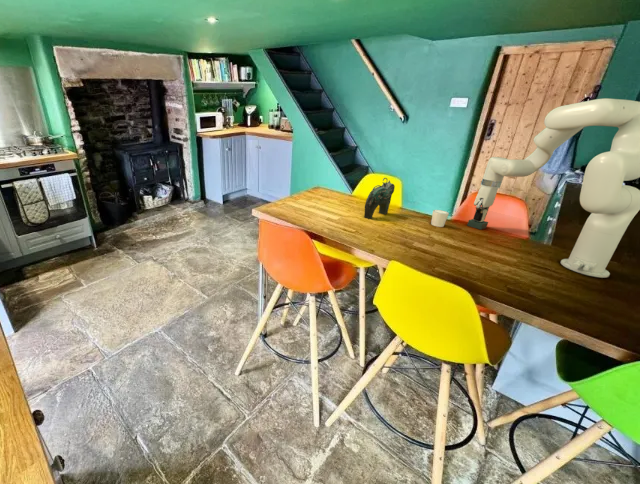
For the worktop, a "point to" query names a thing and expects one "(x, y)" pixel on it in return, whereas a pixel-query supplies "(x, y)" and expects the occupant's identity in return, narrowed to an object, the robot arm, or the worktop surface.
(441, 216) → the cream cup
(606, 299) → the worktop surface
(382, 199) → the dark green arched piece
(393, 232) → the worktop surface
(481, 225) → the dark square tray
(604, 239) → the robot arm
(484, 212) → the peg
